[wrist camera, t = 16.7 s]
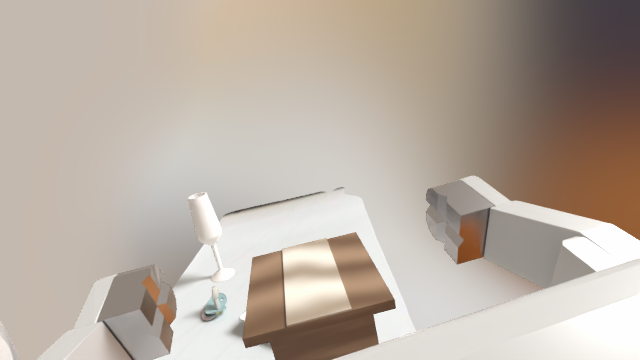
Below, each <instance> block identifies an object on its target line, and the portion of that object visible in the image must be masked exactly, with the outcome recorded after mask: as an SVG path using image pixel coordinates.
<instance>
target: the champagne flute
mask: <svg viewBox="0 0 640 360" xmlns="http://www.w3.org/2000/svg"><path fill="white" fill-rule="evenodd" d="M188 200H189V205H190V210H191V214H192V218H193V223H194V227H195V232H196V236H197V239H198V240H199V241H200V242H202V243H204V244H207V245H211V247H212V250H213V253H214V256H215V259H216V262H217V265H218V268H219V270H218V271H217V272H216V273H215V274H214V275H213V276H212V277H211V280H212V281H213V282H221V281H224V280H227V279H229V278H230V277H231V276H233V274H234V273H235V270H234V269H232V268H223V266H222V263H221V260H220V257H219V254H218V251H217V248H216V243H217V241H218V240H219V238H220V236H221V234H222V228H221V226H220V223H219V221H218V219H217V216H216V214H215V212H214V210H213V207H212V205H211V202H210V200H209V198H208V196H207V193H206V192H202V193H197V194H194V195H191V196H190V197H188Z"/></svg>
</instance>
